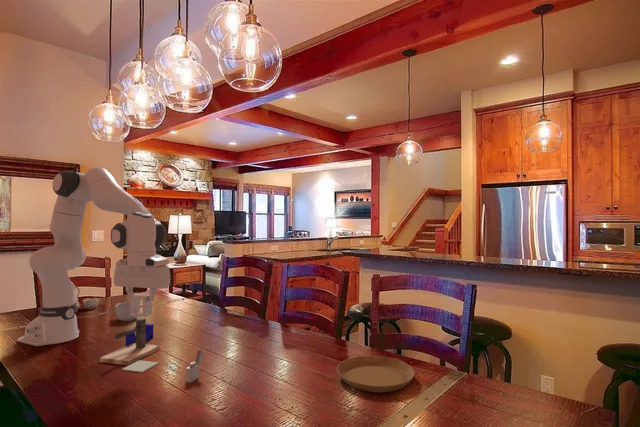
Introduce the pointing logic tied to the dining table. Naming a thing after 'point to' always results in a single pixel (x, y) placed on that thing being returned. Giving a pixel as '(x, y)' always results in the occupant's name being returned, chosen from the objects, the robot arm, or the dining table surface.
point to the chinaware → (86, 301)
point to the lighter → (194, 367)
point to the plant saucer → (375, 373)
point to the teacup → (124, 311)
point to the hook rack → (131, 347)
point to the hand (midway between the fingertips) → (141, 300)
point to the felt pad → (140, 366)
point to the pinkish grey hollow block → (136, 305)
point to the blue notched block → (132, 337)
